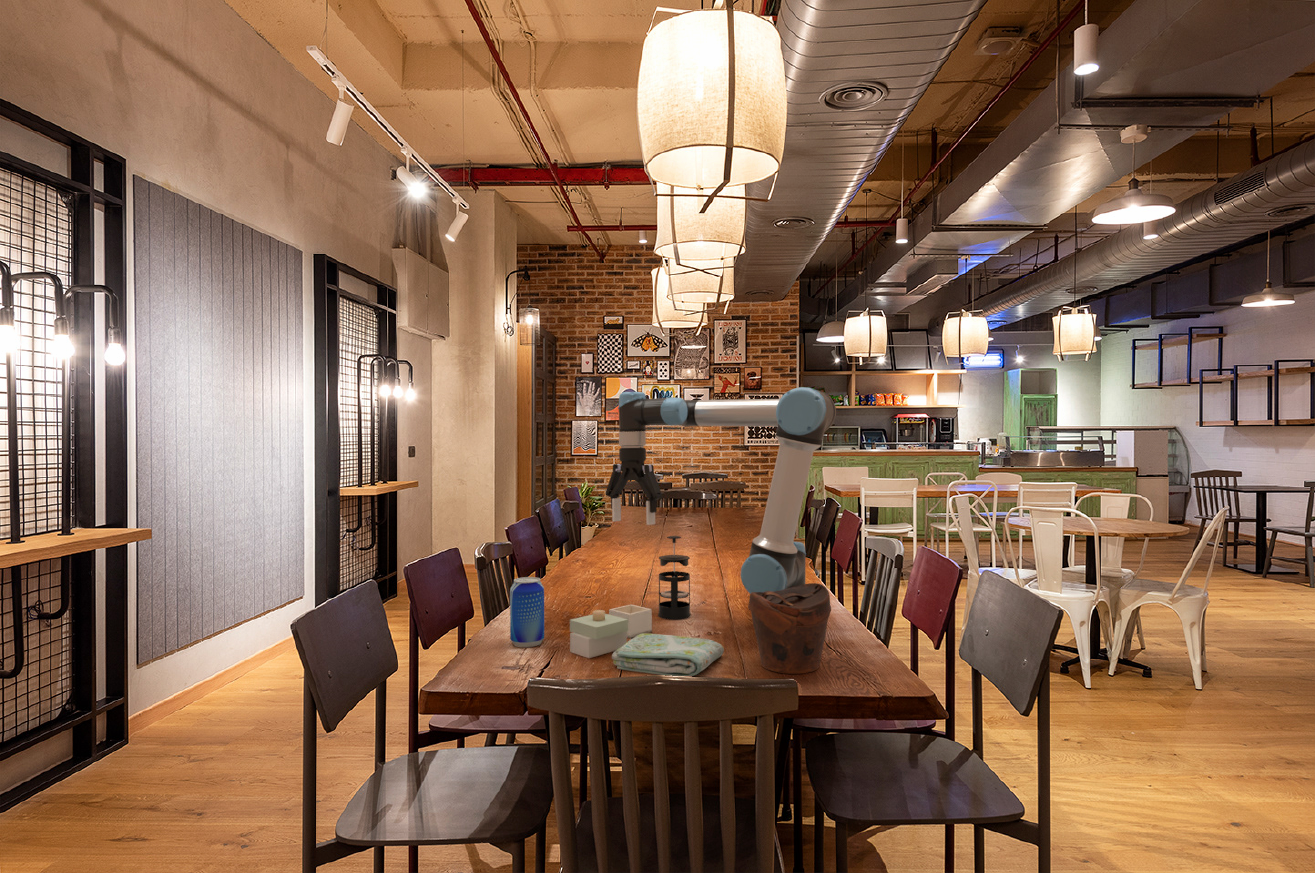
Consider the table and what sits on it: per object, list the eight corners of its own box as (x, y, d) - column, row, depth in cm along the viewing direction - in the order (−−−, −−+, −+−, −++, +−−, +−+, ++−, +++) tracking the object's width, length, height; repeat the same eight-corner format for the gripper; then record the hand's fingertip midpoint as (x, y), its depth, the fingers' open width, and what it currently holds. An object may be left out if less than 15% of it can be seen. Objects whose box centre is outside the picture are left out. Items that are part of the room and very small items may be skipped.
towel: (642, 648, 175) (642, 627, 175) (724, 657, 167) (724, 636, 167) (609, 670, 159) (609, 647, 159) (699, 682, 150) (699, 658, 150)
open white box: (651, 631, 188) (651, 609, 188) (629, 638, 183) (629, 614, 183) (631, 626, 194) (631, 604, 194) (609, 632, 188) (609, 609, 188)
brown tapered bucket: (731, 670, 157) (733, 588, 157) (770, 648, 173) (771, 574, 173) (808, 687, 147) (810, 600, 147) (841, 662, 163) (842, 584, 163)
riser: (626, 647, 174) (626, 629, 174) (588, 658, 166) (588, 638, 166) (608, 641, 179) (608, 623, 179) (570, 651, 171) (570, 633, 171)
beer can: (540, 637, 184) (540, 575, 184) (547, 645, 176) (547, 581, 176) (507, 640, 181) (507, 577, 181) (513, 649, 173) (513, 583, 173)
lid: (628, 630, 173) (627, 611, 173) (596, 639, 166) (596, 618, 166) (601, 623, 180) (601, 604, 180) (569, 631, 173) (569, 611, 173)
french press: (690, 620, 200) (690, 538, 200) (657, 620, 200) (656, 538, 200) (690, 610, 212) (690, 533, 212) (659, 610, 212) (658, 533, 212)
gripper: (674, 446, 194) (675, 524, 194) (611, 447, 211) (612, 518, 211) (655, 447, 189) (656, 527, 189) (592, 447, 206) (593, 520, 206)
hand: (633, 522), depth 200 cm, fingers open, 13 cm apart
